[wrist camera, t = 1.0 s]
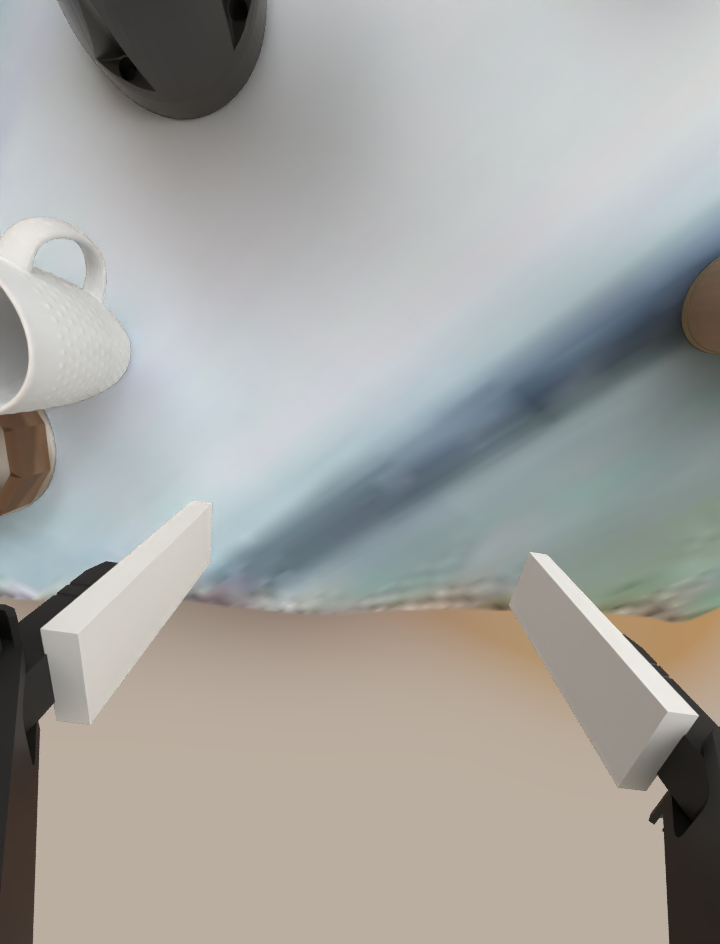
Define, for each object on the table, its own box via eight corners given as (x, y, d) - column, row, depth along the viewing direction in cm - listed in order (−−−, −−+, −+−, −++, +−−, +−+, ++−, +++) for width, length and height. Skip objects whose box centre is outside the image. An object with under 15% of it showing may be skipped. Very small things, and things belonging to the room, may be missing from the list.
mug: (70, 217, 30) (-131, 115, 18) (183, 286, 32) (71, 236, 20) (29, 364, 34) (-159, 364, 22) (132, 419, 36) (11, 447, 24)
